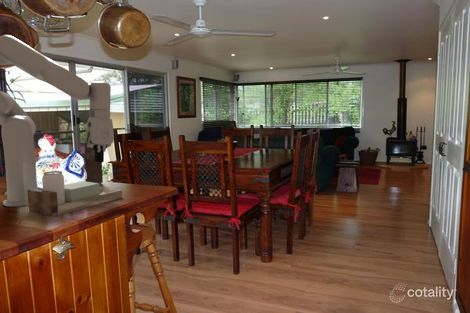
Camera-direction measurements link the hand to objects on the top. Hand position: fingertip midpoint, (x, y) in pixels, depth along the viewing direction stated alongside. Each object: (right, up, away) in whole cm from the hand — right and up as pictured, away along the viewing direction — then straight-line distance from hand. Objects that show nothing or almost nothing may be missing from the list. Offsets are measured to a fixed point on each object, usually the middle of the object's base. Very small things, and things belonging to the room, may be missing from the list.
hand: (99, 161), depth 144 cm
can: (-8, -15, -20) cm, 26 cm away
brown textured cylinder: (-11, -11, +25) cm, 29 cm away
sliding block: (-3, -14, -12) cm, 18 cm away
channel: (-3, -15, -11) cm, 19 cm away
